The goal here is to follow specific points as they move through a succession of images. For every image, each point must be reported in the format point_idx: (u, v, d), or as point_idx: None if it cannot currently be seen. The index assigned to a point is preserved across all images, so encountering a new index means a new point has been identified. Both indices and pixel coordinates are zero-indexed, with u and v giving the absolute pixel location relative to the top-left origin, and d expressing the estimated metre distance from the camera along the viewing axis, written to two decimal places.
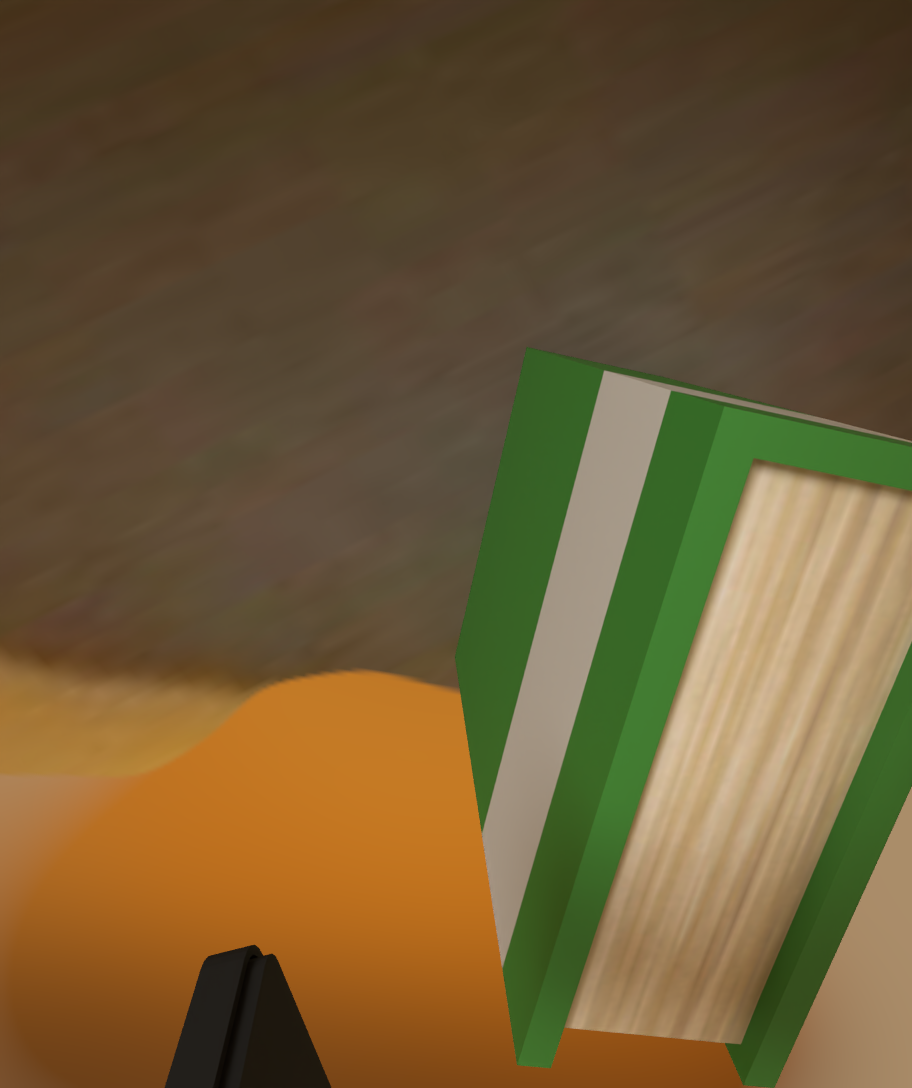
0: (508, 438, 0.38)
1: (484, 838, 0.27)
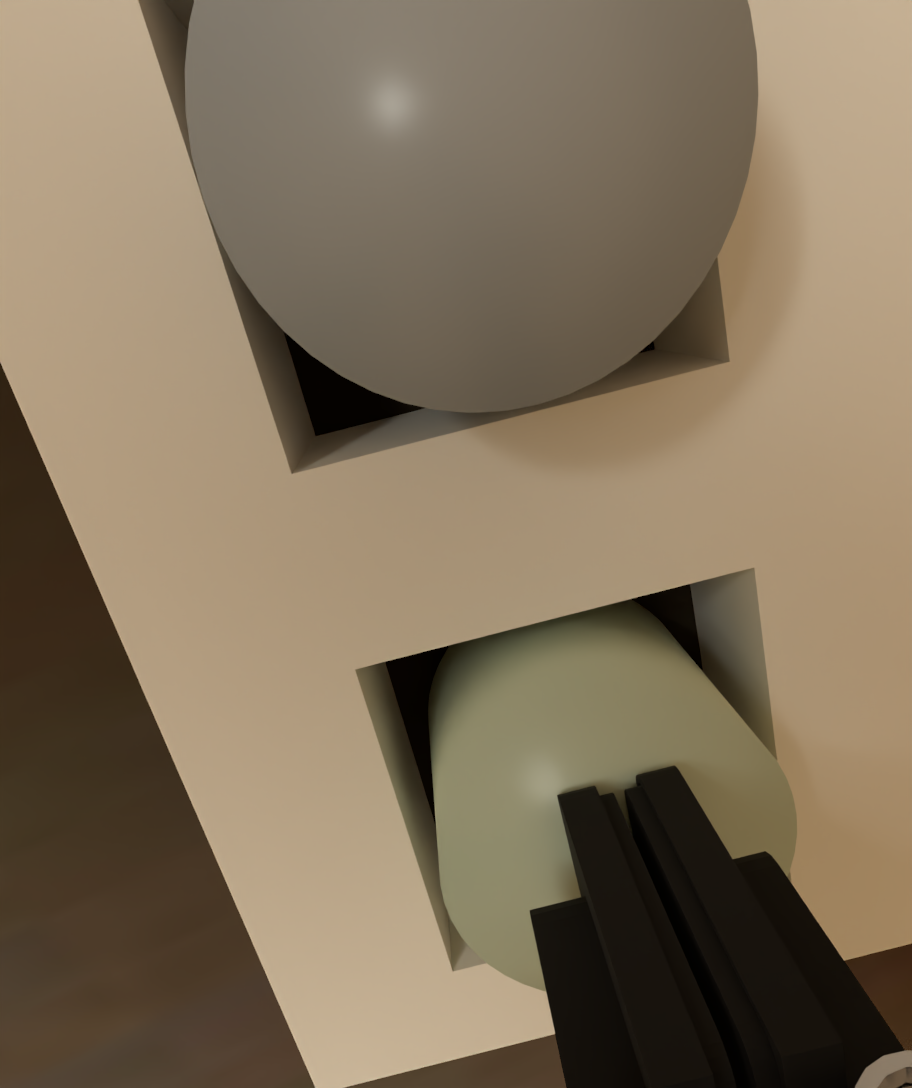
0: None
1: None
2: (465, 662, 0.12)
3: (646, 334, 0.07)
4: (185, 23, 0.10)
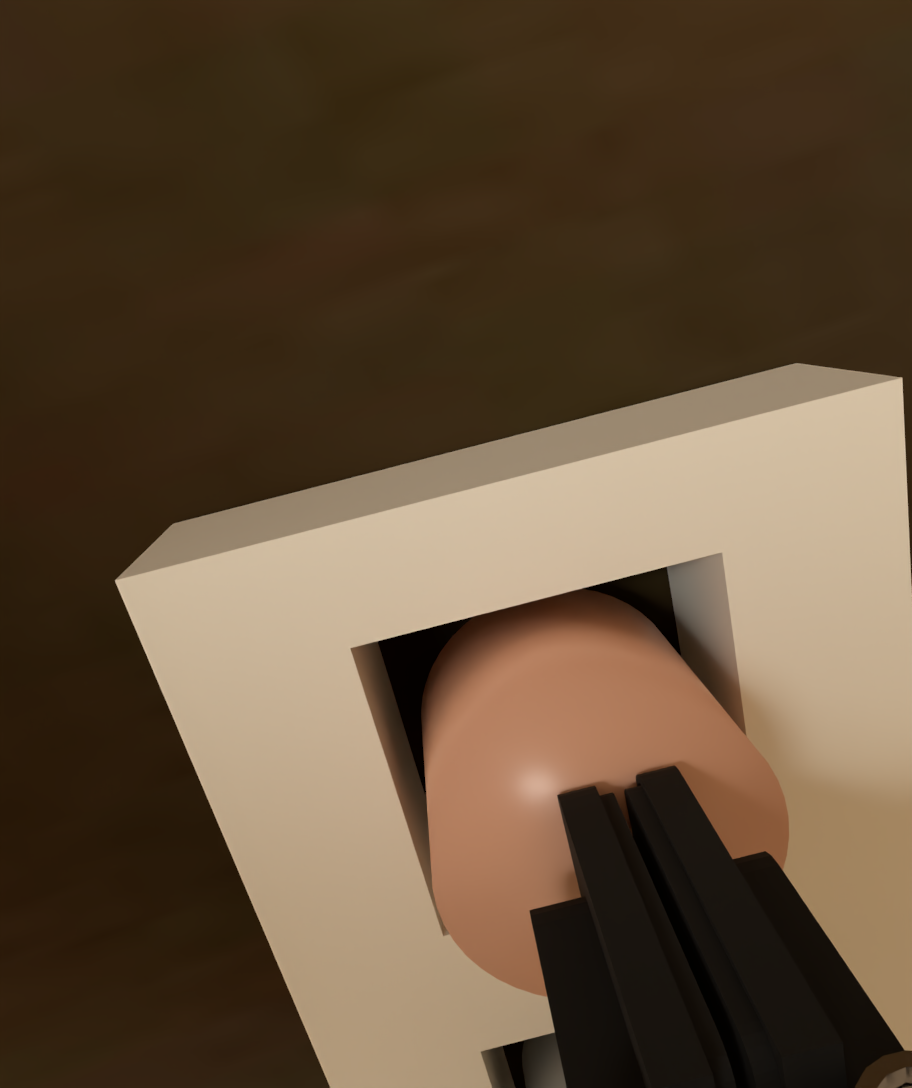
0: None
1: None
2: None
3: None
4: None
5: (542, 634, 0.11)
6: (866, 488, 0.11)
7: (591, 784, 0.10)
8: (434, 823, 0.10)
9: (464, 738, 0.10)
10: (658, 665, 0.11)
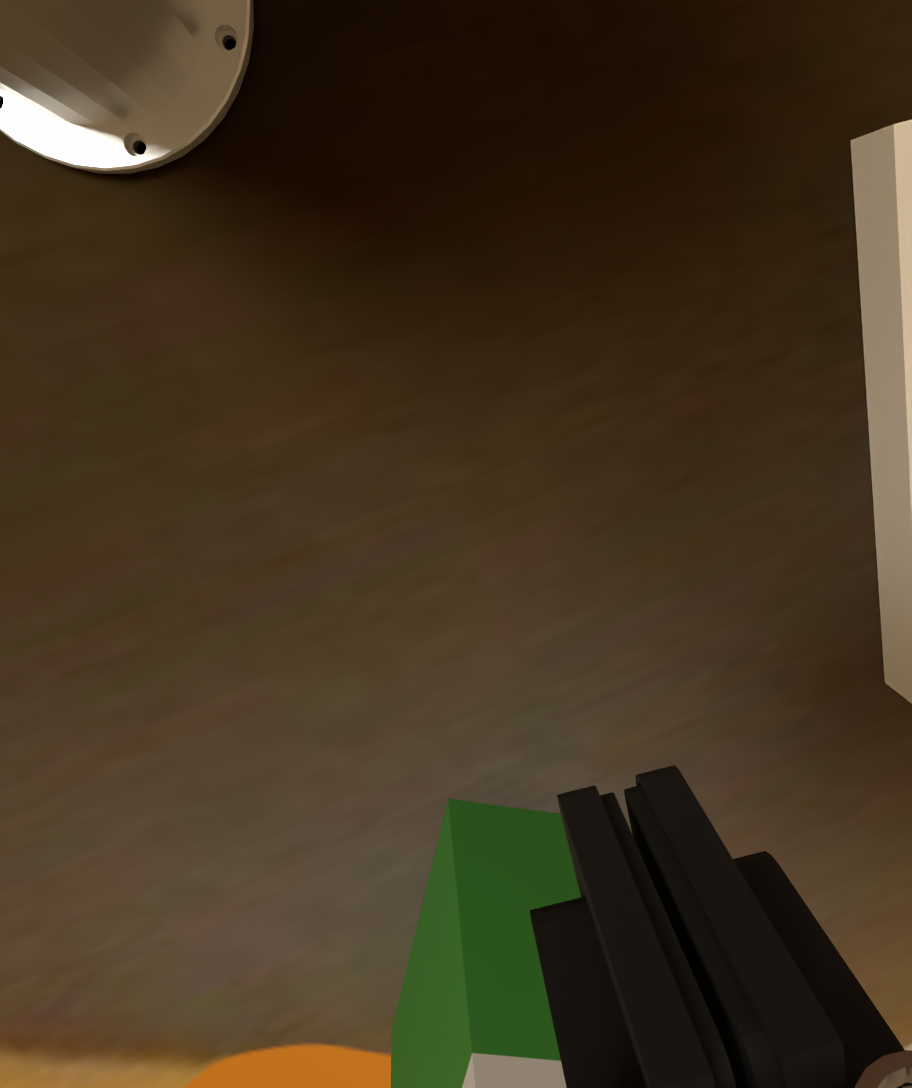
0: (432, 875, 0.42)
1: None
2: None
3: None
4: None
5: None
6: None
7: None
8: None
9: None
10: None
